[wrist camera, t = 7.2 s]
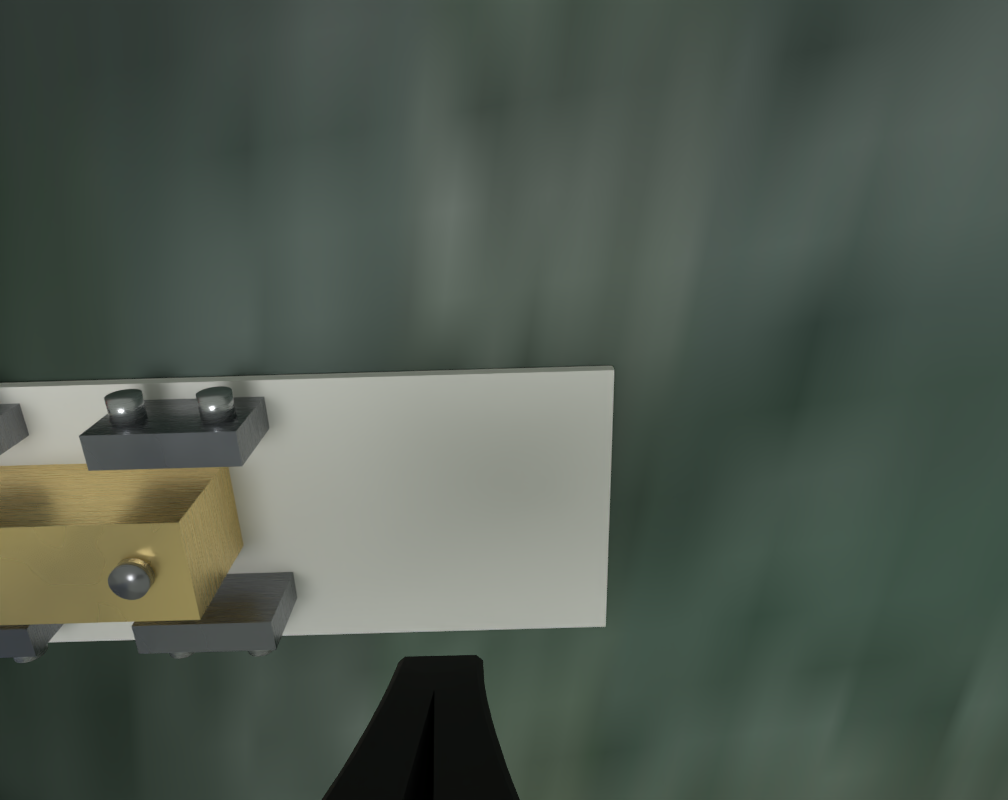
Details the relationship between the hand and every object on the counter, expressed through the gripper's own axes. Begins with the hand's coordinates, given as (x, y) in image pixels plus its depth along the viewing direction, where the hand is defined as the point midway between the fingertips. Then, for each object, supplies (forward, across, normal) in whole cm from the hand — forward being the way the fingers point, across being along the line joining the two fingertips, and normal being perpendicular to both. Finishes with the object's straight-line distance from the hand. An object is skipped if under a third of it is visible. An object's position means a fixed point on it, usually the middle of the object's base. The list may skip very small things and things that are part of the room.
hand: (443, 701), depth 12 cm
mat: (+10, +7, +2) cm, 12 cm away
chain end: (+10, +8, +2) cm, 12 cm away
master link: (+10, +11, +2) cm, 15 cm away
